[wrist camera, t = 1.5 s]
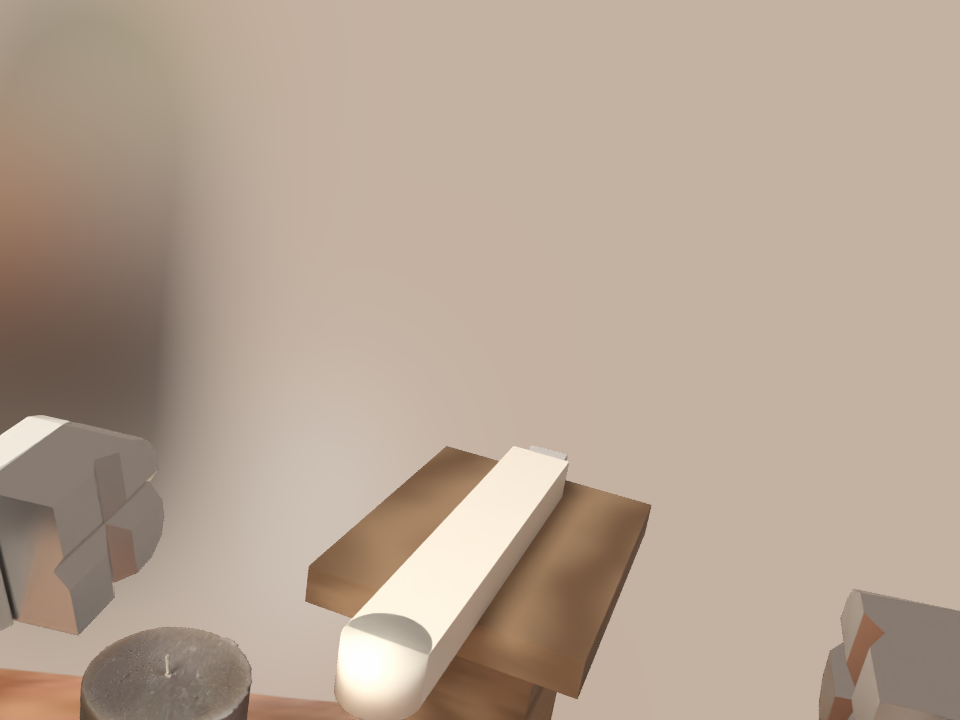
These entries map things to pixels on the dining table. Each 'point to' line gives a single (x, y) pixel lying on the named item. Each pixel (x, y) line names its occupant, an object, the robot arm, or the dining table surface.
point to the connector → (445, 588)
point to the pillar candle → (167, 678)
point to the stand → (518, 604)
